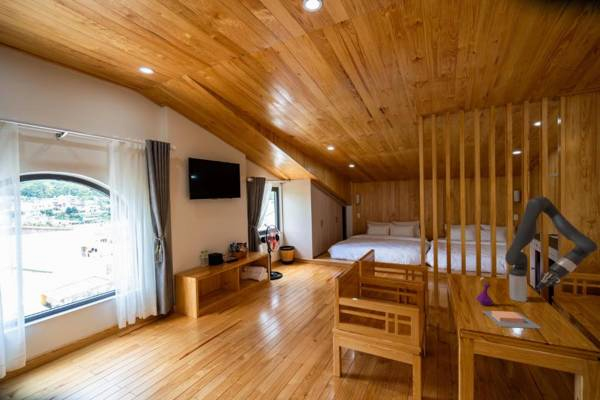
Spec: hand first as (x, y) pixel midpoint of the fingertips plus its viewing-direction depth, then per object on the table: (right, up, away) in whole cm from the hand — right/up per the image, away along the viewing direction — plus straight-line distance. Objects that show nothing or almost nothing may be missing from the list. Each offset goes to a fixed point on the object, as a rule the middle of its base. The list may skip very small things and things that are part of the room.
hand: (538, 288), depth 151 cm
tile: (-11, -17, +1) cm, 20 cm away
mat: (-15, -19, +2) cm, 24 cm away
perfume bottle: (-14, -20, +24) cm, 34 cm away
